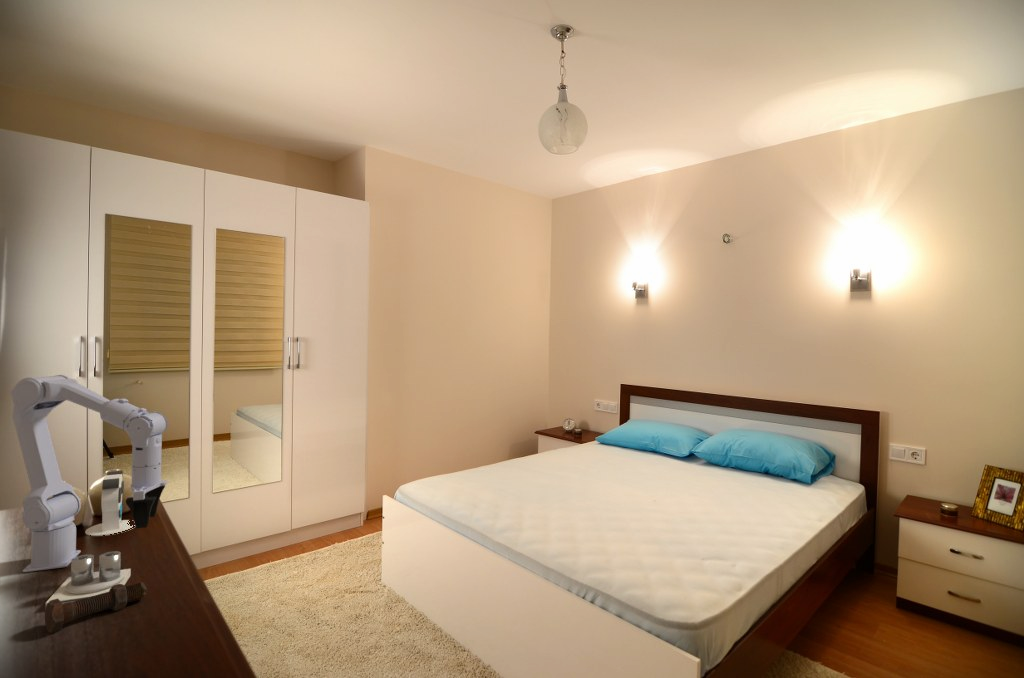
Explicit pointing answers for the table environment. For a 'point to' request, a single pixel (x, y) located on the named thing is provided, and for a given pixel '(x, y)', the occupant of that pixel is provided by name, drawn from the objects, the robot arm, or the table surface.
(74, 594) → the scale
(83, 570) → the spacer
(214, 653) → the table surface
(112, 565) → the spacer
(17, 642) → the table surface
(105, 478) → the white phone stand
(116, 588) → the bolt
